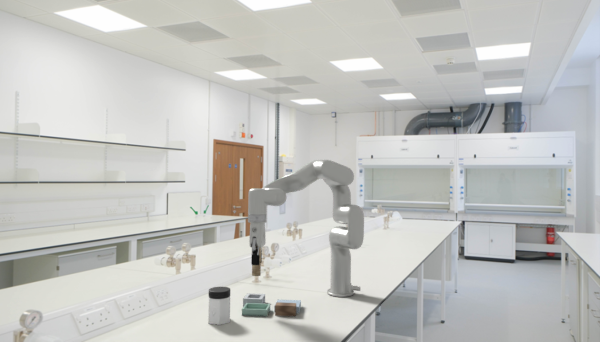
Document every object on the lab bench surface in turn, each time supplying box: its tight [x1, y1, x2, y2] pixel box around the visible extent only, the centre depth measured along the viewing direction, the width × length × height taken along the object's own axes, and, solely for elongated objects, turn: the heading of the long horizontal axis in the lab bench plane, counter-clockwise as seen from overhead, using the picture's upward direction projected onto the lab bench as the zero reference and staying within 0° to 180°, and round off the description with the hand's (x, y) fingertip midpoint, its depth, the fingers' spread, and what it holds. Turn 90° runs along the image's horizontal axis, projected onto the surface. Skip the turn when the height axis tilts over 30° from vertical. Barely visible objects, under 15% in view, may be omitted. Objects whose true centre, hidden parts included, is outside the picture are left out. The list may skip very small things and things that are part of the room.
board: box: [273, 299, 302, 314], centre depth 171 cm, size 10×9×3 cm
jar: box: [207, 286, 231, 326], centre depth 155 cm, size 9×8×12 cm
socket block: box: [242, 293, 266, 308], centre depth 176 cm, size 8×8×4 cm
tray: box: [241, 303, 271, 317], centre depth 166 cm, size 10×8×2 cm
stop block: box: [274, 301, 297, 317], centre depth 164 cm, size 8×4×4 cm, turn 85°
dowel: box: [251, 246, 262, 277], centre depth 167 cm, size 4×4×12 cm
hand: (256, 263), depth 167 cm, fingers closed on dowel, 3 cm apart
